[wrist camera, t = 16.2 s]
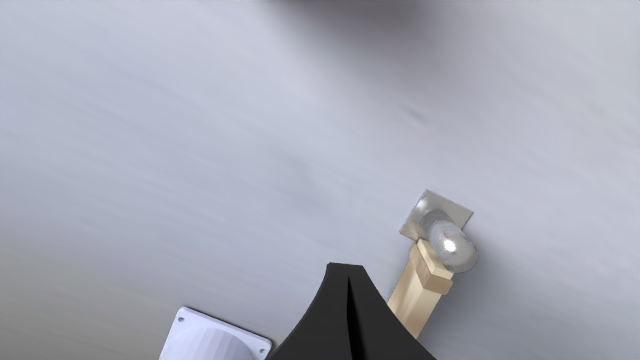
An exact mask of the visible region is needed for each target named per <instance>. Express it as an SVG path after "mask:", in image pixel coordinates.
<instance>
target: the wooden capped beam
mask: <svg viewBox="0 0 640 360" xmlns="http://www.w3.org/2000/svg"><path fill="white" fill-rule="evenodd" d="M409 256H410V259H409V261H408V263H407V265H406V267H405V269H404V271H403V273H402V275H401V277H400V279H399V281H398V283H397V285H396V287H395V289H394V291H393V293H392V295H391V297H390V299H389V301H388V303H387V305H388V306H389V308H390V309H391V310H392V312H393V313H394V314H395V316H396V317H397V318H398V319H399V321H400V322H401V323H402V324H403V326H404V327H405V328H406V329H407V330H408V331H409V333H410V334H411V335H412V336H413V337H414V338H415V339H417V337H418V335H419V334H420V332H421V330H422V328H423V327H424V325H425V323H426V321H427V320H428V318H429V316H430V314H431V313H432V311H433V309H434V307H435V305H436V304H437V302H438V300H439V298H440V297H441V295H447V293H448V292H449V290H450V288H451V286H452V285H453V281H452V279H451V277H452V276H453V274H454V273H453V272H451V271H448V270H447V269H446V268H445V267H444V266H443V264H442V262H441V261H440V259H439V257H438V255H437V254H436V252H435V250H434V249H433V247H432V245H431V243H430V242H429V241H426V240H423V239H419V241H418V243H414V244H413V246H412V248H411V250H410V252H409Z"/></svg>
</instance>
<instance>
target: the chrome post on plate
mask: <svg viewBox="0 0 640 360" xmlns="http://www.w3.org/2000/svg"><path fill="white" fill-rule="evenodd" d="M472 213H473V212H472V211H471V210H469V209H466V208H464V207H462V206H460V205H458V204H456V203H454V202H452V201H450V200H447V199H445V198H443V197H441V196H439V195H437V194H435V193H433V192H431V191H429V190H425V192H424V193H423V195H422V196H421V198H420V200H419V201H418V203H417V204H416V206H415V208H414V209H413V211H412V212H411V214H410V215H409V217H408V219H407V220H406V222H405V223H404V225H403V227H402V228H401V230H400V231H399V233H400V234H402V235H404V236H407V237H409V238H411V239H413V240H415V241H419V239H423V240H426V241H429V242H430V243H431V245H432V247H433V249H434V250H435V252H436V254H437V255H438V257H439V259H440V261H441V262H442V264H443V266H444V267H445V268H446V269H447V270H448V271H451V272H454V273H462V272H466V271H468V270H470V269H471V268H473V267H474V265H475V264H476V263H477V260H478V251H477V249H476V248H475V246H474V245H473V244H472V243H471V242H470V240H469V239H468V238H467V237H466V236H465V234H464V233H463V232H462V231H461V228H462V227H463V225H464V224H465V222H466V221H467V220H468V218H469V217H470V215H471V214H472Z"/></svg>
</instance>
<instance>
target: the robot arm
mask: <svg viewBox="0 0 640 360" xmlns="http://www.w3.org/2000/svg"><path fill="white" fill-rule="evenodd" d="M181 317H182V318H181ZM183 318H184V319H183ZM271 345H272V343H271V341H270V340H268V339H266V338H263V337H261V336H258V335H256V334H253V333H250V332H248V331H245V330H243V329H240V328H238V327H235V326H233V325H230V324H228V323H225V322H222V321H220V320H217V319H215V318H212V317H210V316H207V315H205V314H202V313H200V312H197V311H194V310H192V309H189V308H187V307H182V308H180V309H179V311H178V312H177V315H176V317H175V320H174V322H173V325H172V327H171V330H170V333H169V335H168V338H167V340H166V343H165V345H164V348H163V350H162V353H161V355H160V358H159V360H265V358H266V356H267V355H268V353H269V351H270V349H271ZM263 349H264V350H263ZM266 360H436V359H435V358H434V357H433V356H432V355H431V354H430V353H429V352H428V351H427V350H426V349H425V348H424V347H423V346H422V345H421V344H420V343H419V342H418V341H417V340H416V339H415V338H414V337H413V336H412V335H411V334H410V333H409V331H408V330H407V329H406V328H405V327H404V326H403V324H402V323H401V322H400V321H399V319H398V318H397V317H396V316H395V314H394V313H393V312H392V310H391V309H390V308H389V306H388V305H387V303H386V302H385V301H384V299H383V298H382V296H381V295H380V293H379V292H378V290H377V289H376V287H375V286H374V284H373V282H372V281H371V279H370V277H369V276H368V274H367V272H366V270H365V269H364V267H363V266H361V265H351V264H341V263H331V262H330V263H329V264H327V268H326V273H325V276H324V279H323V281H322V284H321V286H320V288H319V290H318V292H317V294H316V296H315V298H314V300H313V301H312V303H311V305H310V306H309V308H308V310H307V311H306V313H305V314H304V316H303V317H302V319H301V320H300V321H299V323H298V324H297V325H296V327H295V328H294V329H293V331H292V332H291V333H290V334H289V336H288V337H287V338H286V339H285V340H284V341H283V343H282V344H281V345H280V346H279V347H278V348H277V349H276V350H275V351H274V352H273V353H272V354H271V355H270V356H269V357H268V358H267V359H266Z"/></svg>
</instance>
